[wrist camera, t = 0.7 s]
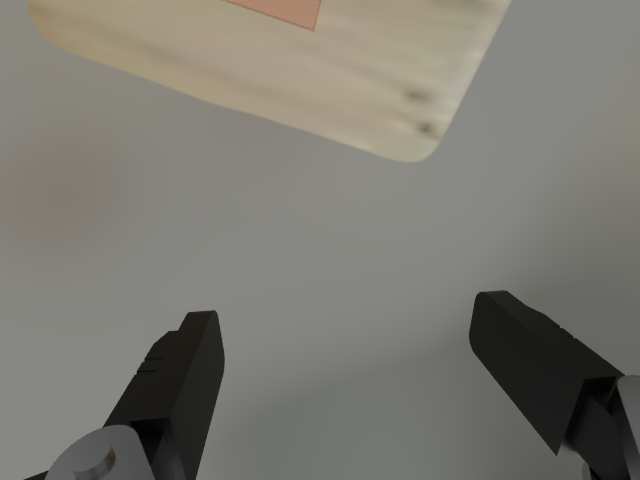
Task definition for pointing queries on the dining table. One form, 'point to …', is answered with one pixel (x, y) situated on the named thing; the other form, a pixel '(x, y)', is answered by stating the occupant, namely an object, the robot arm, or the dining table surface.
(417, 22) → the dining table surface
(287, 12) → the terracotta holder
